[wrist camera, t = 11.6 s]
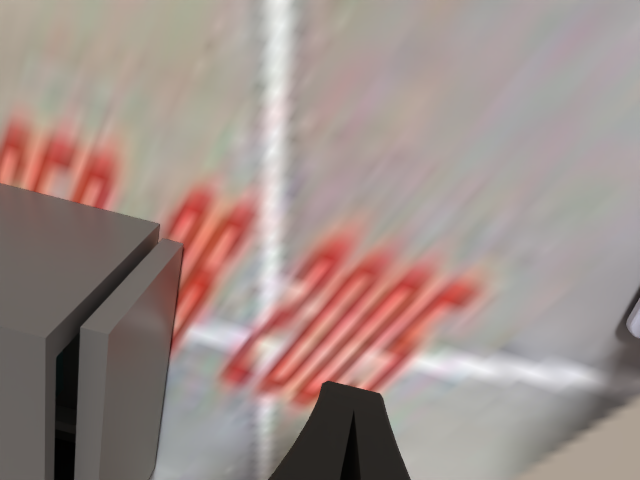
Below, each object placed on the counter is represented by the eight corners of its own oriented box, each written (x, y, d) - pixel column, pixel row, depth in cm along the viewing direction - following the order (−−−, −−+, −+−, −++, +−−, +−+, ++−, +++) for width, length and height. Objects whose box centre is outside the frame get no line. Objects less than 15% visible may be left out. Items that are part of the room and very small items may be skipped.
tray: (183, 243, 20) (108, 334, 15) (154, 467, 25) (90, 596, 20) (-69, 179, 20) (-237, 245, 15) (-48, 415, 25) (-166, 530, 20)
